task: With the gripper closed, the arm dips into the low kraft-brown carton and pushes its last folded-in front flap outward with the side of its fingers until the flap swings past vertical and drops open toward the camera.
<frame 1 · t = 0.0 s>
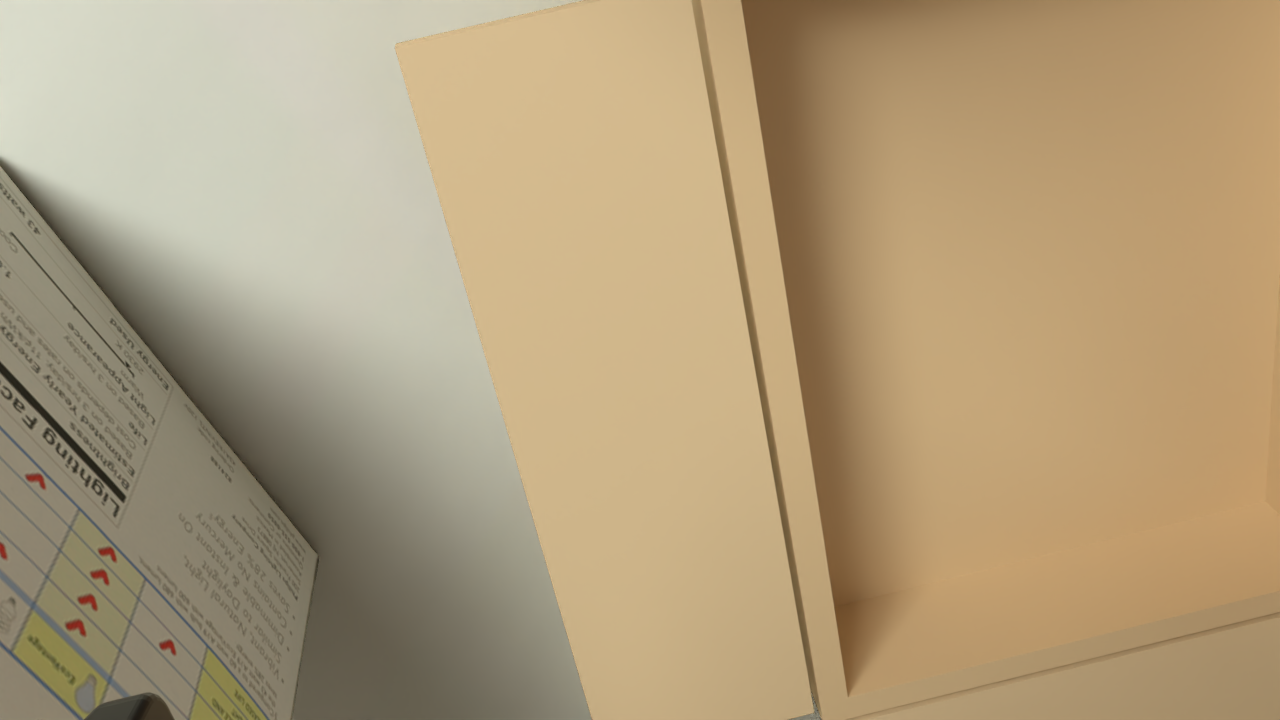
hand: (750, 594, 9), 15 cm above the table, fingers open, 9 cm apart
light bulb box: (41, 436, 24), on the table
carton: (1014, 257, 25), on the table
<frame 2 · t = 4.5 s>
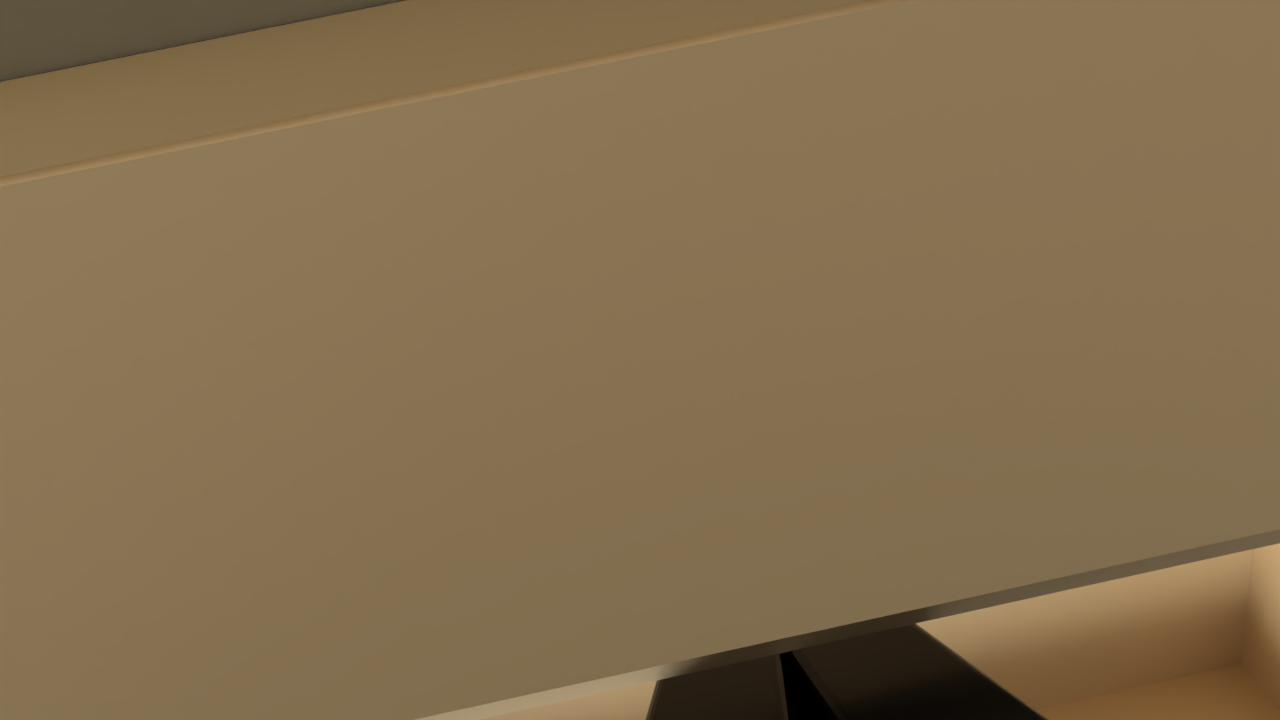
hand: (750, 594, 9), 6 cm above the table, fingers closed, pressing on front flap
carton: (684, 444, 15), on the table
front flap: (715, 315, 8), point 6 cm above the table, hinge at -30.9°, touching gripper
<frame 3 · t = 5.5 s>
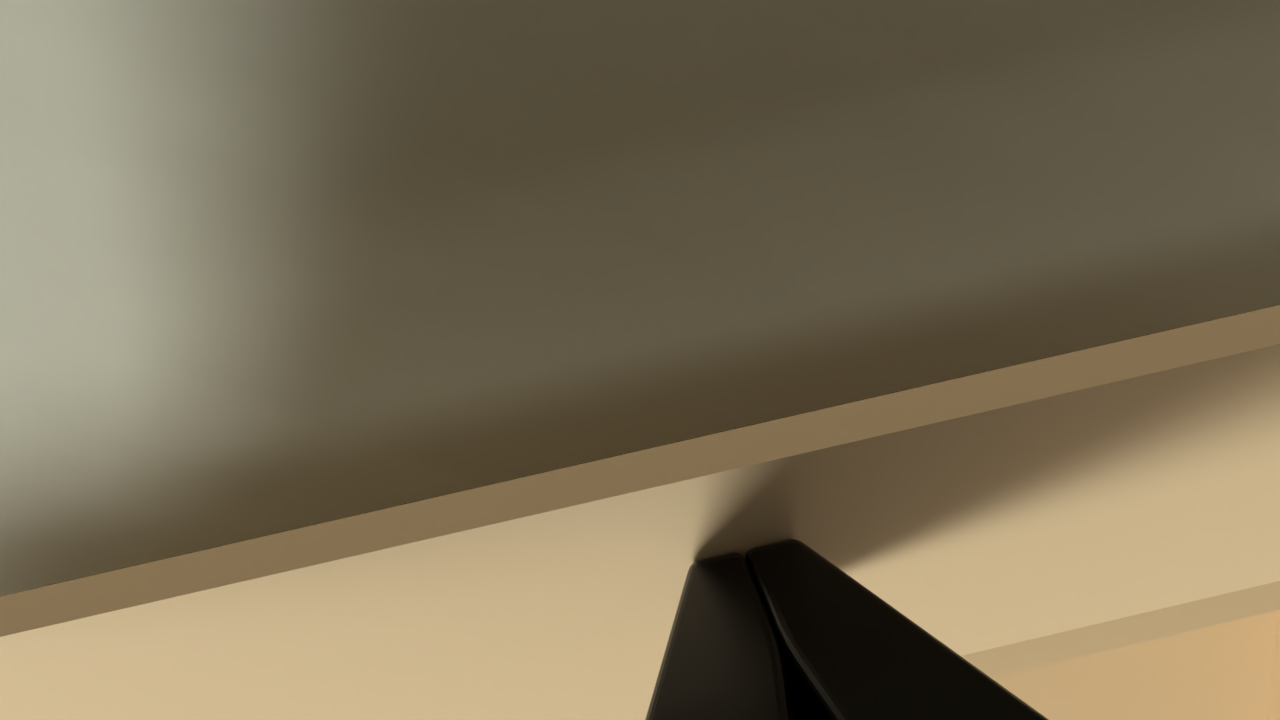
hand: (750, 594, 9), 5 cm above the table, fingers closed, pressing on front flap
front flap: (750, 589, 10), point 5 cm above the table, hinge at 64.5°, touching gripper
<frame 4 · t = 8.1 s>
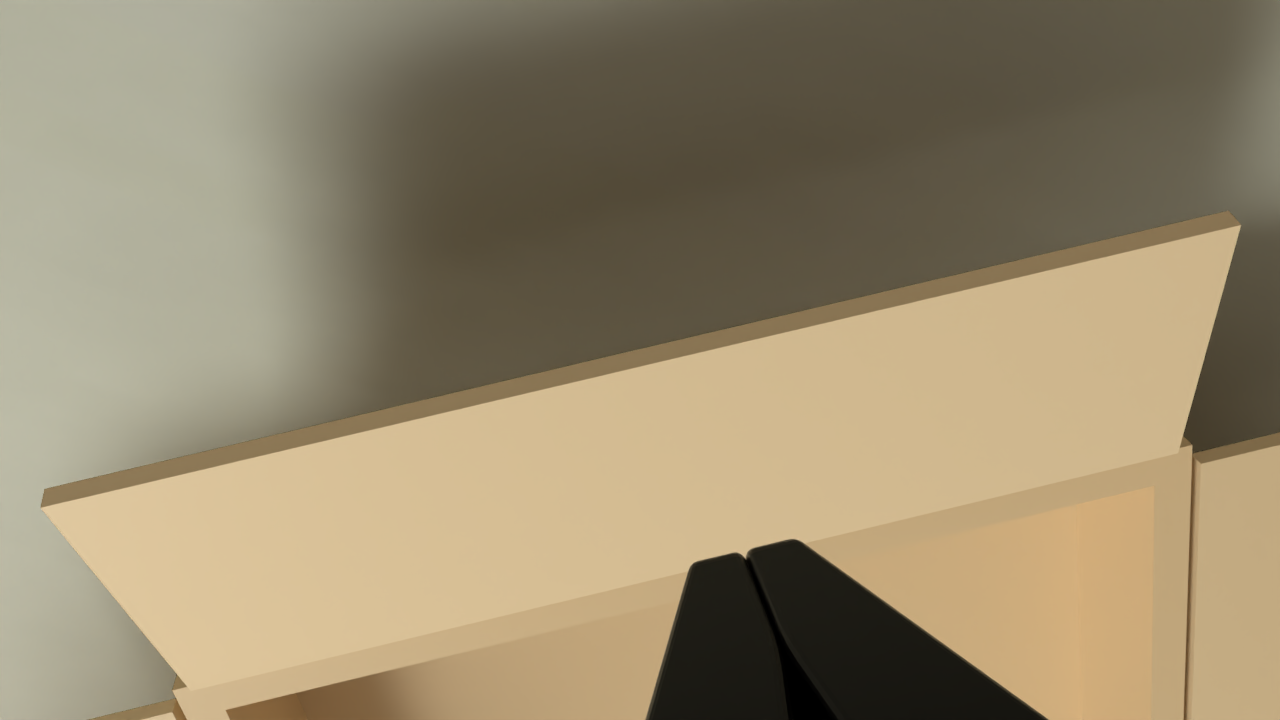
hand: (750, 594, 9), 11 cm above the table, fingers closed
carton: (710, 697, 24), on the table
front flap: (669, 469, 17), point 4 cm above the table, hinge at 72.9°
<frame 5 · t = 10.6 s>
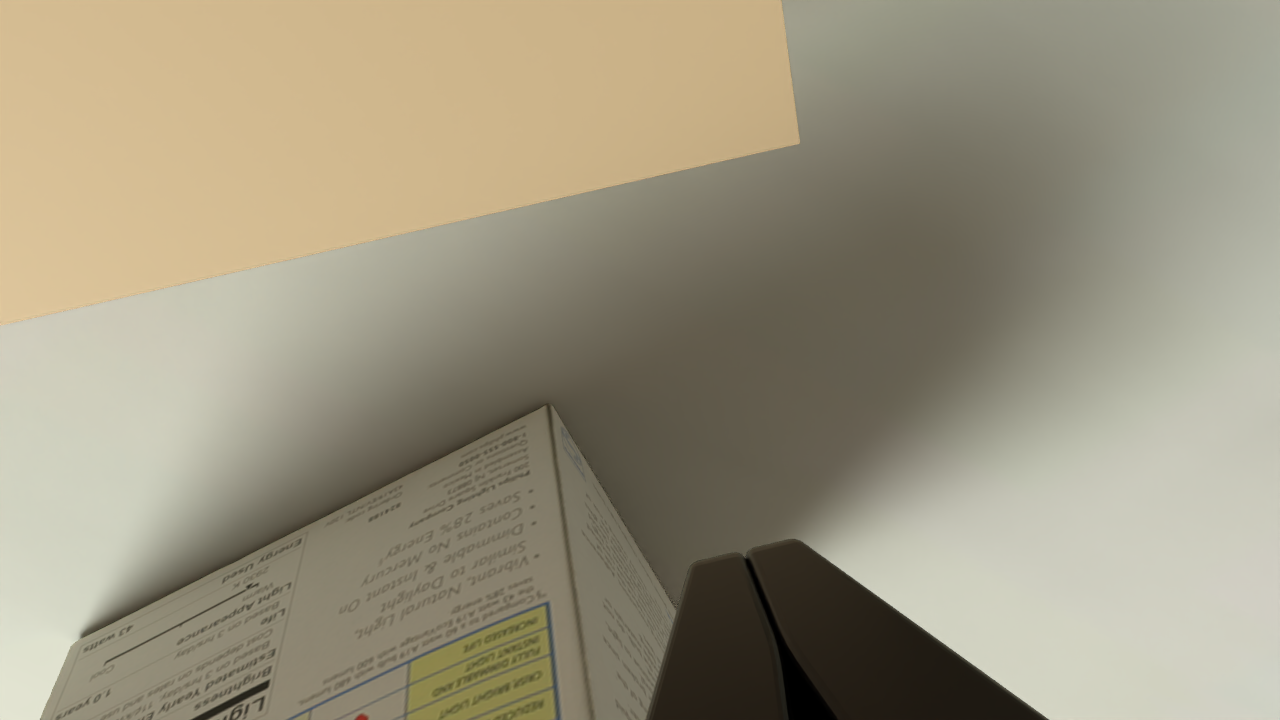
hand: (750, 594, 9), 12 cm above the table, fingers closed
light bulb box: (395, 627, 24), on the table
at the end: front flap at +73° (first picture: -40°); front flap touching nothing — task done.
